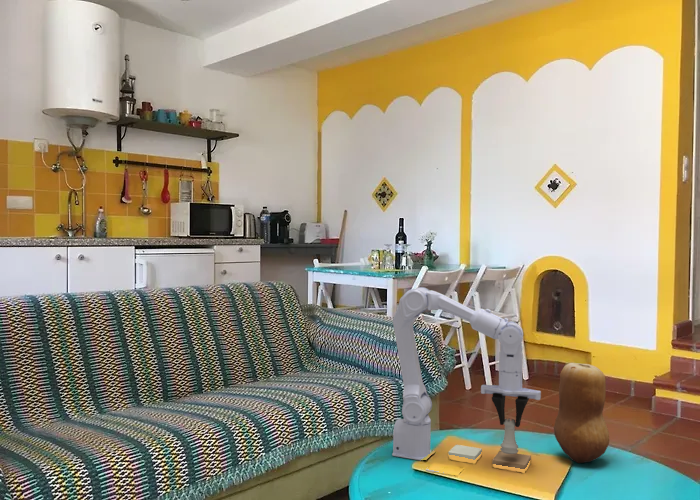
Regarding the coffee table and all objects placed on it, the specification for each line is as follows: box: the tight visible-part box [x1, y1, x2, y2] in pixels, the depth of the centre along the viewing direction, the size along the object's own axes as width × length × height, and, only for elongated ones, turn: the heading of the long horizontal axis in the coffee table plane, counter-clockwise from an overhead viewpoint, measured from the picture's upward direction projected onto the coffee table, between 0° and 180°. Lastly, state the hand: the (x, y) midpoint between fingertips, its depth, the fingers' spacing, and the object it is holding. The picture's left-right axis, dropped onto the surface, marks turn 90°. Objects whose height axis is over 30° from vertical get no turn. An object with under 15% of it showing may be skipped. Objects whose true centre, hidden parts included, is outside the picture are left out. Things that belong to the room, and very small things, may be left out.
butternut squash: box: [553, 362, 610, 464], centre depth 160 cm, size 14×13×25 cm
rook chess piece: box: [499, 418, 519, 454], centre depth 154 cm, size 4×4×8 cm
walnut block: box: [491, 450, 532, 469], centre depth 155 cm, size 8×8×2 cm
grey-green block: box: [447, 444, 483, 460], centre depth 160 cm, size 7×7×2 cm
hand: (510, 424), depth 154 cm, fingers closed on rook chess piece, 3 cm apart
